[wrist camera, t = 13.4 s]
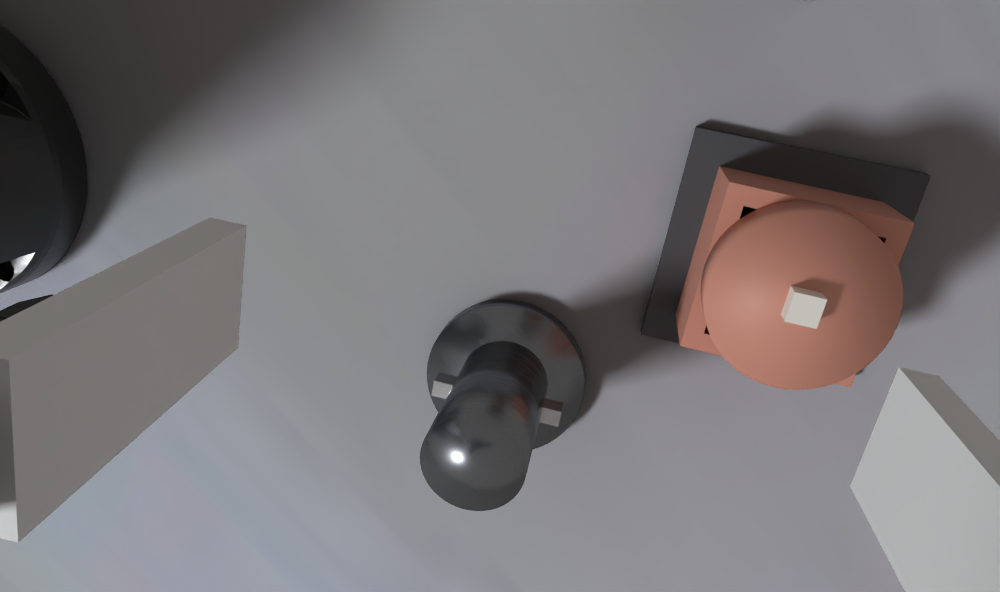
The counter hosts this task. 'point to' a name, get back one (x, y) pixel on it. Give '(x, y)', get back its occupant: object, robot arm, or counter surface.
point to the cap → (793, 281)
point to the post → (497, 400)
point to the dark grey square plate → (765, 160)
